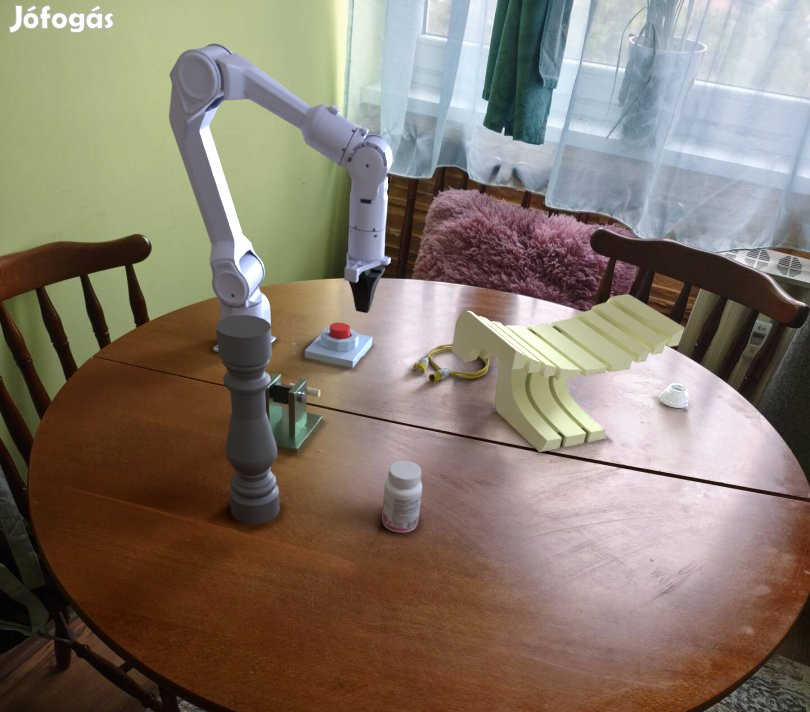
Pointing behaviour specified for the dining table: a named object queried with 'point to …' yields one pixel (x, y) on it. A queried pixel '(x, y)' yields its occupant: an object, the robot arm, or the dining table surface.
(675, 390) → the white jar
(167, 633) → the dining table surface
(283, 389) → the switch lever
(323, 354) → the button box
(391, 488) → the pill bottle
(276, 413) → the switch bracket
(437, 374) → the extension cord
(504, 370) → the slatted curved stool
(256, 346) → the candle holder
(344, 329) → the button
